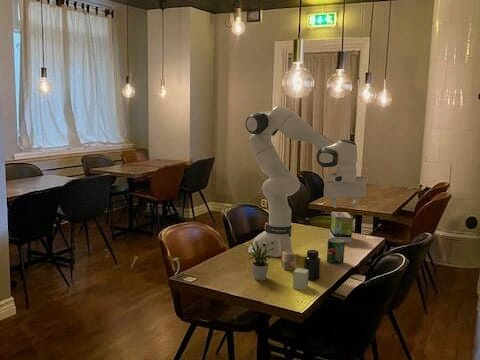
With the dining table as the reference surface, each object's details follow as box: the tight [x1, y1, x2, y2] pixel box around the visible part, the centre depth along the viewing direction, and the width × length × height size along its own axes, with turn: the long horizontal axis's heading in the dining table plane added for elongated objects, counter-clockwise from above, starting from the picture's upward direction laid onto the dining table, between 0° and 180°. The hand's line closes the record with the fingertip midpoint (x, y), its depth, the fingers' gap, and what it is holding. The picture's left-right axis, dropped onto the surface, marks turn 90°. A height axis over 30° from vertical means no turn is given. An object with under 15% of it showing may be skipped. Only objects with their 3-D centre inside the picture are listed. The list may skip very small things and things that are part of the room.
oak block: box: [281, 250, 297, 271], centre depth 218 cm, size 5×5×7 cm
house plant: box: [247, 241, 275, 281], centre depth 203 cm, size 14×14×16 cm
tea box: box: [329, 211, 354, 244], centre depth 268 cm, size 15×10×15 cm, turn 178°
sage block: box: [292, 267, 309, 291], centre depth 194 cm, size 5×5×7 cm
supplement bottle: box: [303, 249, 321, 282], centre depth 205 cm, size 7×7×12 cm
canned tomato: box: [326, 237, 346, 266], centre depth 227 cm, size 8×8×11 cm
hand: (344, 207), depth 214 cm, fingers open, 8 cm apart
